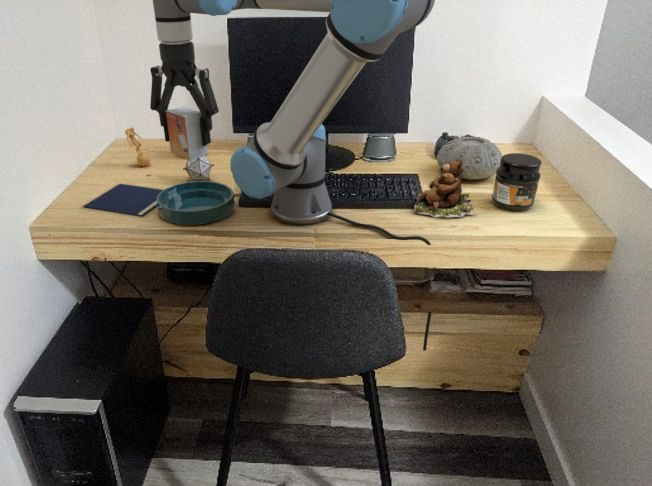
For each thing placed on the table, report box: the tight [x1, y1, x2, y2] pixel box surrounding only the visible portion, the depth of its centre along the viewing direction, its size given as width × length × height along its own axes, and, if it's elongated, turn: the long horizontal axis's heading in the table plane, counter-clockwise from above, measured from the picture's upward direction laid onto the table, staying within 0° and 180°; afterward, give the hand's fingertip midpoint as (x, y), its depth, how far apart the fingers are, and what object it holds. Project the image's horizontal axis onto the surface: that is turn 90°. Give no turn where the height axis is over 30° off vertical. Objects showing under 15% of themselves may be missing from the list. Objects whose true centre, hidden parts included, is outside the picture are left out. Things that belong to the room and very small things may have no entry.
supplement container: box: [491, 152, 542, 212], centre depth 139 cm, size 10×10×12 cm
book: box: [82, 183, 164, 218], centre depth 147 cm, size 18×16×1 cm
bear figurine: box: [413, 159, 475, 219], centre depth 137 cm, size 14×15×12 cm
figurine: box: [124, 126, 151, 167], centre depth 166 cm, size 8×6×12 cm
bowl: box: [156, 180, 236, 226], centre depth 140 cm, size 19×19×4 cm
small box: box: [166, 106, 209, 161], centre depth 131 cm, size 8×6×10 cm
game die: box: [182, 156, 215, 182], centre depth 156 cm, size 9×8×10 cm
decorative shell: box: [436, 135, 503, 180], centre depth 158 cm, size 18×18×10 cm
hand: (188, 141), depth 132 cm, fingers closed on small box, 9 cm apart
